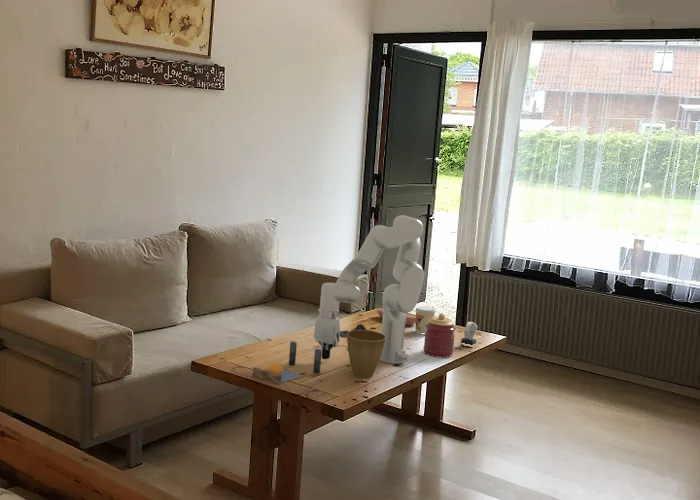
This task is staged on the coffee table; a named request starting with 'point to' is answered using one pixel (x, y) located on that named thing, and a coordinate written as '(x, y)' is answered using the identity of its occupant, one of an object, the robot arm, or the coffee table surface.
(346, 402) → the coffee table surface
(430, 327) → the canister
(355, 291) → the robot arm
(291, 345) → the post
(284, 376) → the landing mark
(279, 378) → the backstop
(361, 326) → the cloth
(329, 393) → the coffee table surface
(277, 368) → the ball
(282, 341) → the coffee table surface
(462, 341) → the grey upright piece
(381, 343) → the plant pot
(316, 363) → the post
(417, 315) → the coffee cup
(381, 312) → the anatomical model
